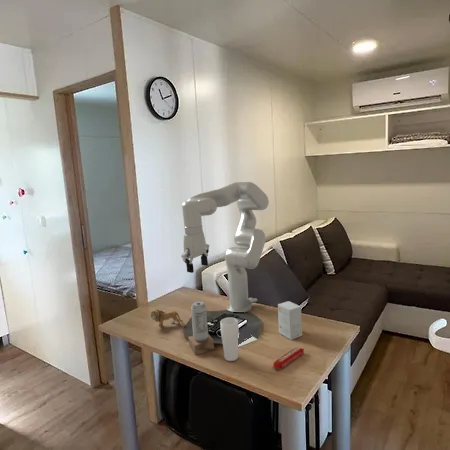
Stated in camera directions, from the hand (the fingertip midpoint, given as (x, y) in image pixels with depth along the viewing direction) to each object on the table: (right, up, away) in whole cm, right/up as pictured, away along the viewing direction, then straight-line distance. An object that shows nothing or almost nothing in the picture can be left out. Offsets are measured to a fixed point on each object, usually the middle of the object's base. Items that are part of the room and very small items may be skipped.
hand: (197, 268), depth 157 cm
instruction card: (+18, -29, -5) cm, 35 cm away
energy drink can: (+2, -27, -10) cm, 29 cm away
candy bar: (+35, -32, -23) cm, 53 cm away
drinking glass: (+14, -32, -18) cm, 40 cm away
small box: (+39, -28, -3) cm, 48 cm away
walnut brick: (+2, -31, -9) cm, 32 cm away
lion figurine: (-15, -28, +12) cm, 35 cm away
